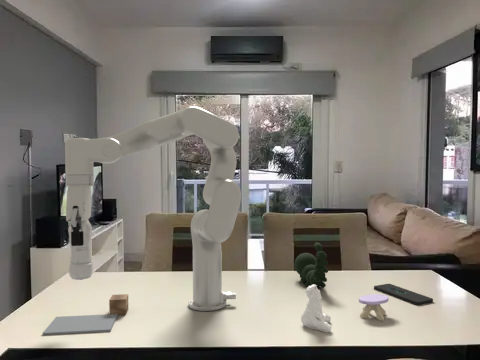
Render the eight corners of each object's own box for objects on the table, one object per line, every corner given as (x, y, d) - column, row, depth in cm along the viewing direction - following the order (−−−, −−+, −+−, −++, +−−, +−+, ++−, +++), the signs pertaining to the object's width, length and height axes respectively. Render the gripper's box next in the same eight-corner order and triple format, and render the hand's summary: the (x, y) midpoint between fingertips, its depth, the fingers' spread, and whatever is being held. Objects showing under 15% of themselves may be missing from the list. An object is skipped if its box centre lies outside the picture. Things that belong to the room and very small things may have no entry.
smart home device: (389, 282, 156) (434, 298, 138) (389, 287, 156) (434, 303, 138) (372, 285, 153) (416, 301, 135) (372, 290, 153) (416, 307, 135)
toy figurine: (333, 297, 149) (310, 273, 173) (335, 246, 146) (312, 229, 171) (308, 298, 147) (288, 274, 171) (310, 247, 145) (290, 230, 169)
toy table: (381, 310, 131) (381, 292, 131) (396, 320, 122) (396, 301, 122) (352, 311, 130) (352, 293, 129) (365, 322, 121) (365, 303, 120)
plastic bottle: (98, 277, 121) (97, 209, 120) (82, 283, 114) (81, 211, 113) (80, 275, 123) (79, 208, 122) (63, 281, 116) (62, 211, 116)
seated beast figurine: (331, 333, 113) (332, 290, 112) (300, 331, 114) (300, 289, 114) (330, 320, 122) (330, 281, 121) (301, 319, 123) (301, 279, 123)
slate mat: (117, 315, 126) (117, 313, 126) (110, 331, 114) (110, 329, 114) (56, 318, 124) (56, 316, 124) (42, 335, 112) (42, 333, 112)
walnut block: (128, 309, 132) (128, 294, 132) (126, 315, 127) (125, 299, 127) (112, 310, 131) (112, 294, 131) (109, 315, 126) (109, 299, 126)
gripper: (74, 180, 125) (75, 238, 126) (56, 182, 108) (57, 249, 109) (99, 179, 126) (100, 237, 127) (86, 182, 109) (87, 249, 110)
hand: (80, 242), depth 118 cm, fingers closed on plastic bottle, 6 cm apart
